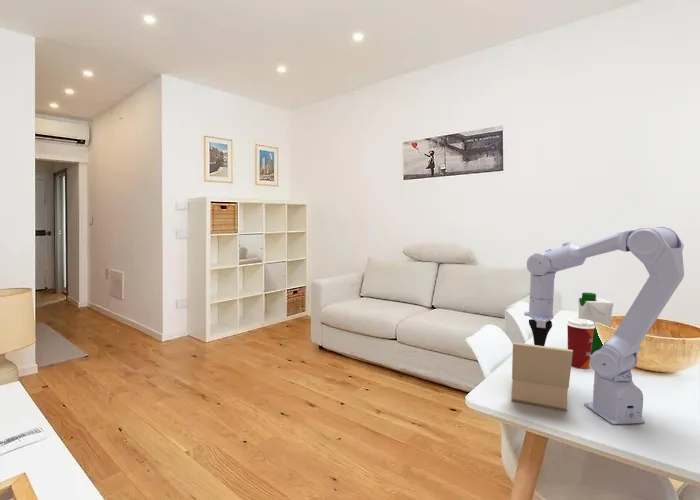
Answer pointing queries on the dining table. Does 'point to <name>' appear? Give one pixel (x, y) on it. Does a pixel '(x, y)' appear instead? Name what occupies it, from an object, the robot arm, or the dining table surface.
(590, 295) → the milk carton
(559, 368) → the carton lid
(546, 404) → the carton
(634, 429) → the dining table surface
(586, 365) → the paper cup
